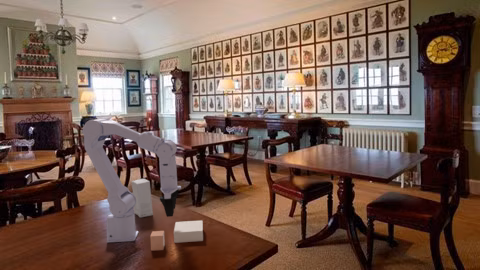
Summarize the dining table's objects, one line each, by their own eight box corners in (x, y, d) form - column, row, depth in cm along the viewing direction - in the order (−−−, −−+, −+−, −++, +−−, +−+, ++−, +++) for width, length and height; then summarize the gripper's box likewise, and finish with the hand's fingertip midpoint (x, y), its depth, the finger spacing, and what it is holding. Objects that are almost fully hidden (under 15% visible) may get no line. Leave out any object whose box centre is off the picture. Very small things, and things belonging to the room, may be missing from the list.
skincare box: (153, 215, 145) (151, 181, 143) (139, 218, 142) (137, 183, 140) (146, 210, 152) (144, 177, 150) (133, 212, 149) (131, 179, 147)
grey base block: (174, 243, 118) (173, 232, 117) (176, 232, 128) (175, 222, 127) (203, 241, 119) (202, 230, 118) (202, 230, 129) (202, 220, 128)
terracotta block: (151, 250, 112) (150, 236, 112) (153, 245, 116) (152, 231, 116) (163, 249, 113) (162, 235, 112) (164, 244, 117) (164, 230, 116)
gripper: (178, 179, 112) (180, 218, 114) (181, 169, 126) (183, 205, 128) (156, 180, 111) (159, 220, 113) (162, 171, 126) (164, 206, 127)
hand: (171, 212), depth 121 cm, fingers open, 7 cm apart
